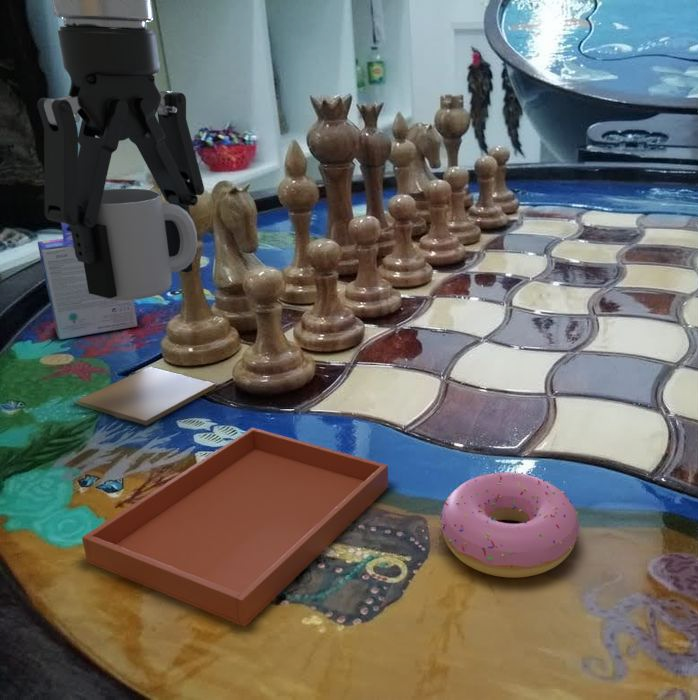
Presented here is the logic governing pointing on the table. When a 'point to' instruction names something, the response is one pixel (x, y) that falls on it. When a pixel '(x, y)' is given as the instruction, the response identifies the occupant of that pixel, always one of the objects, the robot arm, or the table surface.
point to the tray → (238, 523)
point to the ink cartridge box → (78, 294)
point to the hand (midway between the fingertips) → (143, 281)
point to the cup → (144, 241)
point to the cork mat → (146, 395)
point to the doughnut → (509, 539)
